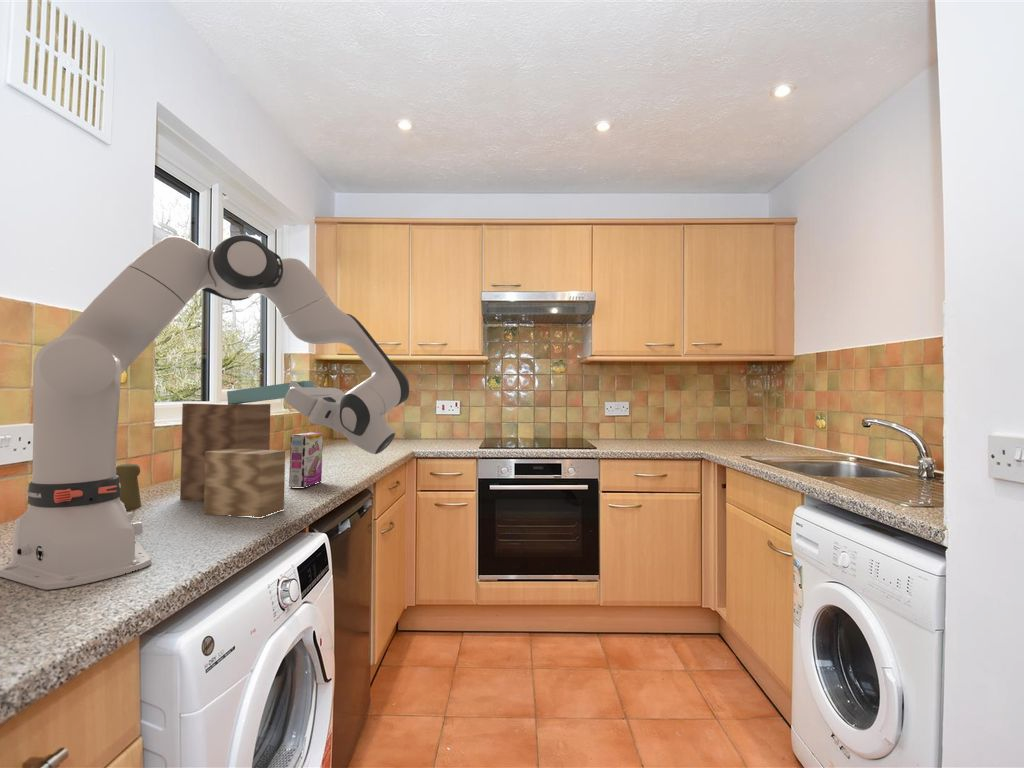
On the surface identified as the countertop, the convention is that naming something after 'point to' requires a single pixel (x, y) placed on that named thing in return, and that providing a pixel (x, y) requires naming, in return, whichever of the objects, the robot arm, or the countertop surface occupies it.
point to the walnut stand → (218, 437)
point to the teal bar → (262, 393)
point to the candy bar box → (305, 459)
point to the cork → (129, 485)
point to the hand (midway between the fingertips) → (298, 383)
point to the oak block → (244, 482)
